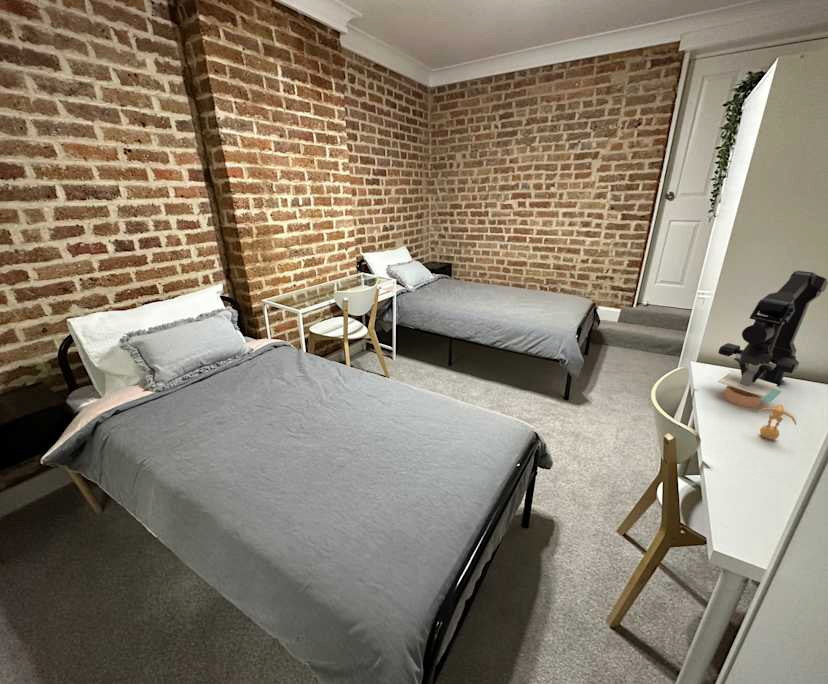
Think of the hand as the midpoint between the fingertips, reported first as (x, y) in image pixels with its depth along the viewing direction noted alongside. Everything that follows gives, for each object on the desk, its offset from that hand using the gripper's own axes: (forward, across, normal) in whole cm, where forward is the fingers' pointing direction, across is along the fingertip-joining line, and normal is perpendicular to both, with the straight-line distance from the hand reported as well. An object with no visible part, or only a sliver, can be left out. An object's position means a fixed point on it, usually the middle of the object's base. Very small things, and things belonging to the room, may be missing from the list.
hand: (748, 380), depth 122 cm
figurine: (+8, +12, -20) cm, 24 cm away
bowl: (+8, 0, 0) cm, 8 cm away
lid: (+1, 0, 0) cm, 1 cm away
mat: (+8, 0, +12) cm, 15 cm away
